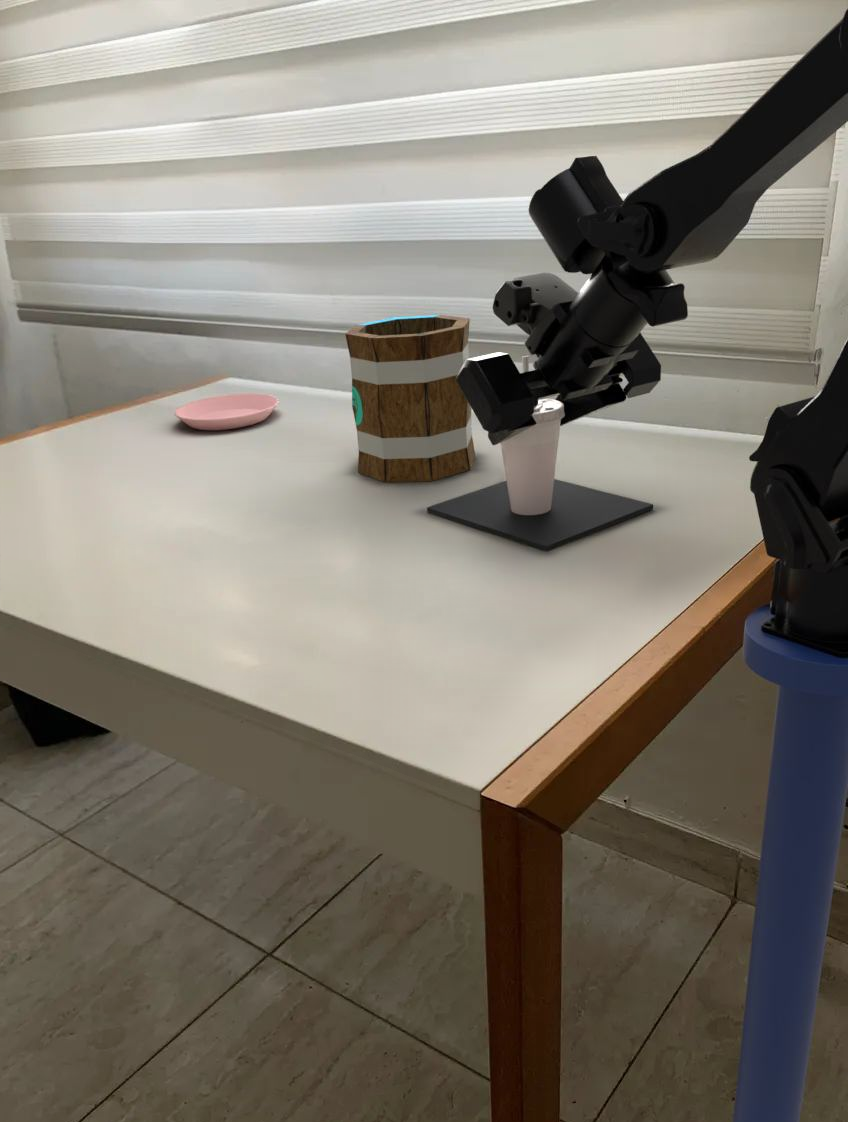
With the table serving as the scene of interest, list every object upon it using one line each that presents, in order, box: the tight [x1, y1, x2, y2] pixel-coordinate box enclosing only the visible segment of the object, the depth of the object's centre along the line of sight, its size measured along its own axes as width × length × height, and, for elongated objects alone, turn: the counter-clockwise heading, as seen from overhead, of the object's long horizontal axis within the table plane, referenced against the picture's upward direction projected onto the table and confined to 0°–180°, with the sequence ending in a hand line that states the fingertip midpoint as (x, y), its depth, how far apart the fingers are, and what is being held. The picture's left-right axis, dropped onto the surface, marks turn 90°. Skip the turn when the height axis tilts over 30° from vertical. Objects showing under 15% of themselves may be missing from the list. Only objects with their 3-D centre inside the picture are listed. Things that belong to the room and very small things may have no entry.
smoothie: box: [500, 355, 565, 515], centre depth 93 cm, size 6×6×14 cm
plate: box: [174, 393, 280, 431], centre depth 140 cm, size 14×14×2 cm
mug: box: [344, 314, 476, 483], centre depth 113 cm, size 20×14×15 cm
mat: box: [426, 478, 654, 552], centre depth 97 cm, size 16×14×1 cm
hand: (520, 433), depth 94 cm, fingers closed on smoothie, 6 cm apart
